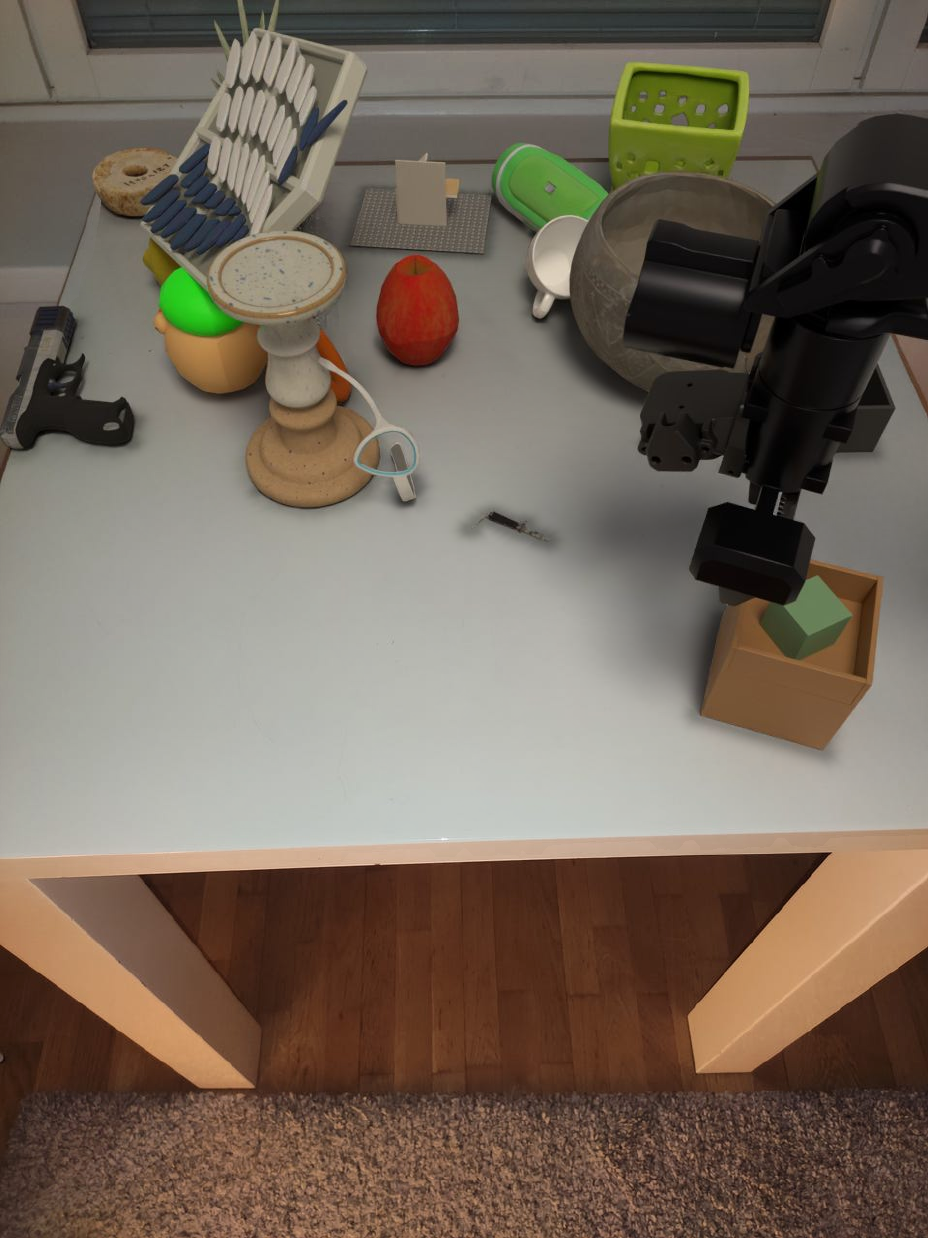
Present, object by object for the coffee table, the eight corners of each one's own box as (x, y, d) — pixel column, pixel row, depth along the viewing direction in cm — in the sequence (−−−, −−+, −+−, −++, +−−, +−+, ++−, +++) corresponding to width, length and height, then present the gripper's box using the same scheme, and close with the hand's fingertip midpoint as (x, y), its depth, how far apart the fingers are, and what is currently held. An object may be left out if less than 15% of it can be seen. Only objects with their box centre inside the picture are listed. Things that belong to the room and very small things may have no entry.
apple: (474, 361, 92) (475, 268, 83) (402, 389, 90) (394, 297, 81) (436, 315, 96) (433, 222, 87) (365, 341, 94) (355, 248, 85)
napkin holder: (401, 205, 107) (397, 143, 101) (460, 209, 107) (459, 146, 100) (397, 223, 105) (393, 160, 99) (457, 226, 105) (456, 163, 98)
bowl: (813, 372, 91) (868, 236, 78) (663, 466, 84) (697, 334, 71) (666, 269, 100) (694, 133, 88) (519, 346, 93) (527, 210, 81)
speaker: (628, 195, 93) (577, 254, 94) (648, 235, 99) (600, 289, 101) (522, 122, 101) (477, 177, 102) (547, 163, 107) (504, 214, 109)
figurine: (297, 366, 92) (276, 262, 82) (238, 426, 87) (209, 323, 77) (208, 330, 95) (177, 225, 85) (146, 386, 90) (106, 282, 80)
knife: (537, 559, 79) (553, 534, 80) (537, 557, 78) (553, 531, 80) (471, 529, 80) (487, 505, 82) (471, 527, 80) (487, 502, 81)
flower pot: (725, 180, 110) (753, 69, 99) (716, 249, 102) (745, 136, 92) (610, 166, 111) (625, 55, 101) (592, 232, 104) (607, 120, 93)
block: (801, 605, 67) (817, 574, 64) (834, 644, 65) (853, 614, 62) (759, 624, 66) (773, 594, 63) (791, 664, 64) (808, 635, 61)
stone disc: (204, 195, 109) (158, 166, 113) (196, 164, 106) (149, 135, 110) (129, 230, 104) (84, 198, 109) (118, 199, 101) (73, 167, 106)
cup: (597, 248, 98) (619, 237, 92) (558, 336, 99) (577, 331, 93) (534, 214, 96) (552, 200, 90) (496, 304, 98) (510, 297, 91)
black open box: (873, 451, 85) (896, 408, 81) (804, 453, 85) (824, 409, 81) (849, 386, 90) (869, 341, 85) (784, 387, 90) (801, 343, 85)
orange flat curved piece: (333, 362, 93) (232, 255, 82) (347, 353, 93) (246, 244, 81) (346, 424, 87) (239, 318, 76) (361, 415, 87) (254, 307, 76)
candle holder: (313, 393, 89) (278, 202, 73) (407, 452, 85) (392, 262, 68) (219, 465, 84) (157, 277, 67) (314, 531, 80) (273, 347, 63)
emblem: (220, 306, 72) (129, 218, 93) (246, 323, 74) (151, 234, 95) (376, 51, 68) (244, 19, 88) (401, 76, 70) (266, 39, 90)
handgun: (130, 449, 86) (1, 456, 85) (155, 318, 97) (41, 324, 96) (120, 425, 83) (-13, 432, 83) (147, 293, 94) (29, 299, 94)
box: (836, 650, 73) (883, 577, 65) (823, 750, 68) (872, 685, 60) (721, 619, 75) (752, 544, 67) (700, 715, 70) (731, 646, 62)
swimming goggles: (310, 363, 72) (375, 338, 71) (320, 352, 80) (379, 330, 79) (377, 525, 77) (438, 502, 77) (380, 500, 85) (436, 480, 84)
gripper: (705, 245, 56) (662, 430, 69) (620, 452, 46) (589, 621, 59) (891, 285, 54) (810, 468, 67) (843, 512, 44) (759, 675, 57)
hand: (742, 551), depth 63 cm, fingers open, 9 cm apart
